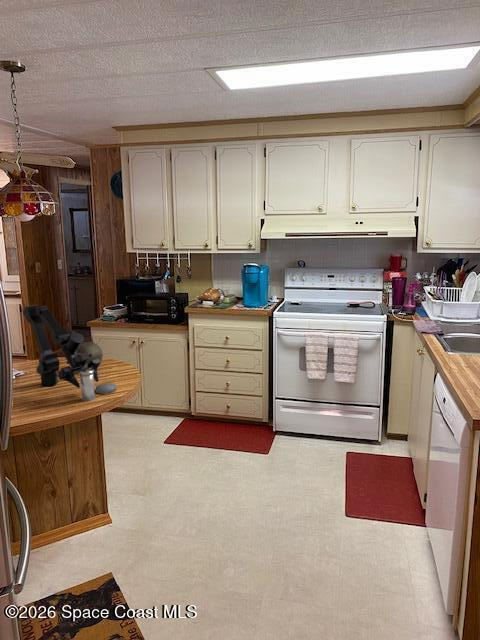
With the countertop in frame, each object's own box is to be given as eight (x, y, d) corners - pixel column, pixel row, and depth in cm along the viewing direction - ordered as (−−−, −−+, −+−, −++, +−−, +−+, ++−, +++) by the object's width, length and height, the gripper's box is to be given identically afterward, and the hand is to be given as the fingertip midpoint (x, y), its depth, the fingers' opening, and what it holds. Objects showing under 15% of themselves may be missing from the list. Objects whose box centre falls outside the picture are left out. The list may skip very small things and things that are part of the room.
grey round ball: (76, 376, 236) (73, 347, 233) (74, 368, 249) (72, 341, 246) (105, 372, 241) (102, 344, 238) (102, 364, 254) (100, 338, 251)
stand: (93, 394, 211) (93, 390, 210) (99, 387, 219) (98, 383, 219) (113, 394, 211) (113, 389, 210) (118, 387, 220) (118, 383, 219)
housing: (79, 401, 202) (76, 373, 199) (83, 396, 208) (81, 368, 206) (93, 401, 202) (91, 372, 199) (98, 396, 208) (95, 368, 206)
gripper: (58, 350, 196) (76, 380, 191) (96, 341, 210) (113, 368, 206) (50, 364, 202) (67, 394, 198) (88, 355, 217) (104, 382, 212)
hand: (88, 384), depth 203 cm, fingers open, 9 cm apart
